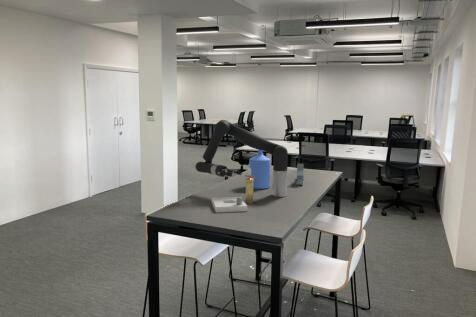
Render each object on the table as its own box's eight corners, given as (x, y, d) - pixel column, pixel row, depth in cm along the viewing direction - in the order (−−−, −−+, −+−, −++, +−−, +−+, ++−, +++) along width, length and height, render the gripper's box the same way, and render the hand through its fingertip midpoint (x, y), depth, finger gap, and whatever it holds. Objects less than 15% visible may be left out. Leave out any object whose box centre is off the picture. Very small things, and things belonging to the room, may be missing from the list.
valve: (242, 202, 238) (242, 175, 236) (248, 201, 242) (248, 174, 239) (250, 204, 233) (250, 177, 231) (256, 203, 237) (256, 175, 235)
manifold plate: (211, 202, 237) (211, 191, 236) (240, 201, 241) (240, 190, 240) (215, 212, 216) (215, 200, 215) (247, 211, 219) (247, 199, 218)
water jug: (274, 186, 285) (275, 149, 281) (262, 190, 273) (263, 151, 269) (256, 183, 294) (257, 147, 290) (244, 187, 282) (245, 149, 278)
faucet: (296, 192, 312) (295, 183, 284) (296, 172, 317) (296, 161, 289) (303, 192, 311) (303, 183, 283) (304, 172, 316) (304, 162, 288)
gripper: (211, 165, 249) (228, 169, 237) (227, 163, 259) (244, 167, 247) (210, 177, 250) (228, 181, 238) (226, 174, 260) (244, 178, 248)
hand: (236, 173), depth 243 cm, fingers open, 8 cm apart
